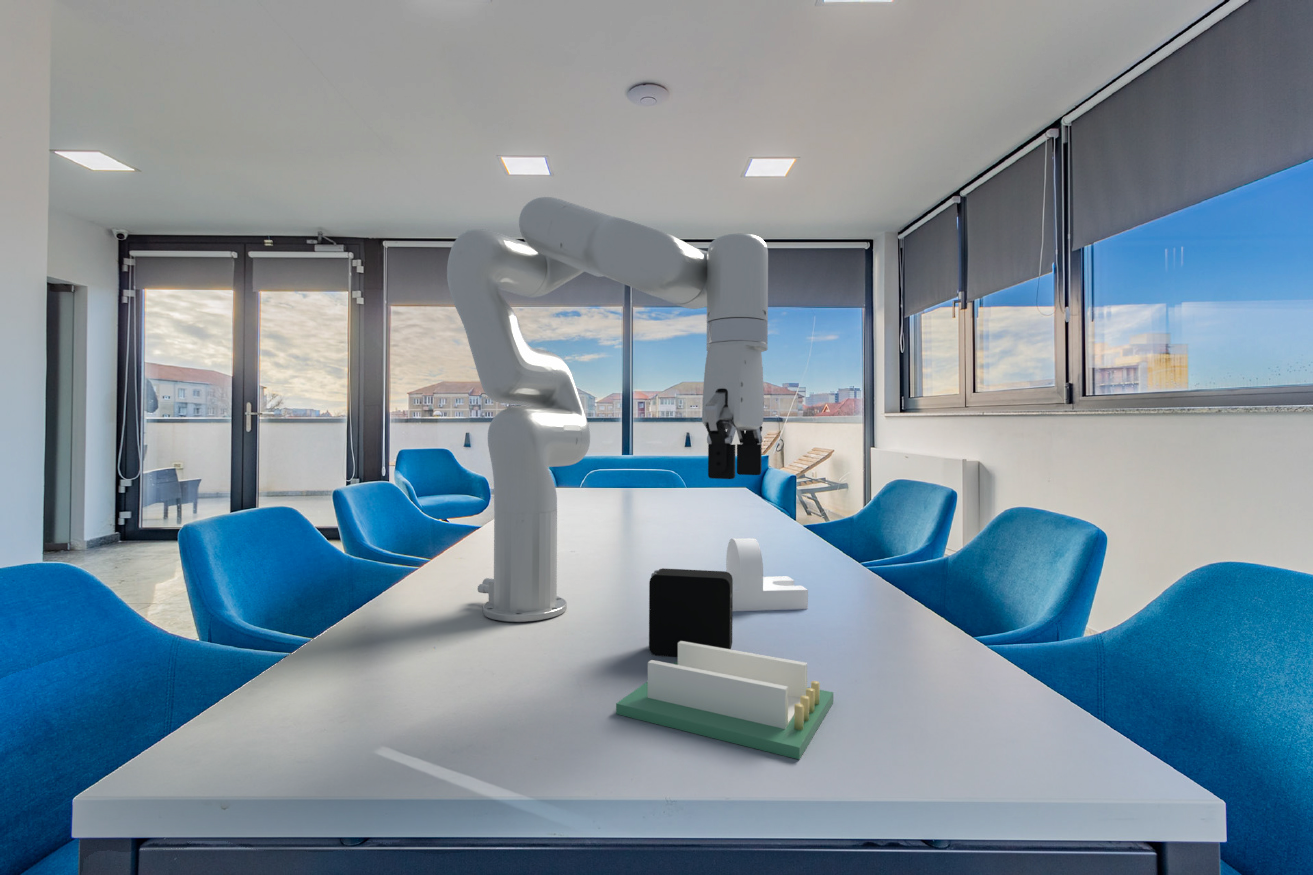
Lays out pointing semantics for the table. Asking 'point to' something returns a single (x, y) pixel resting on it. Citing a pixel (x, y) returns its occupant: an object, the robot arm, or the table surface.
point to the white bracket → (759, 581)
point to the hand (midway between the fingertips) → (736, 476)
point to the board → (732, 698)
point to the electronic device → (689, 609)
